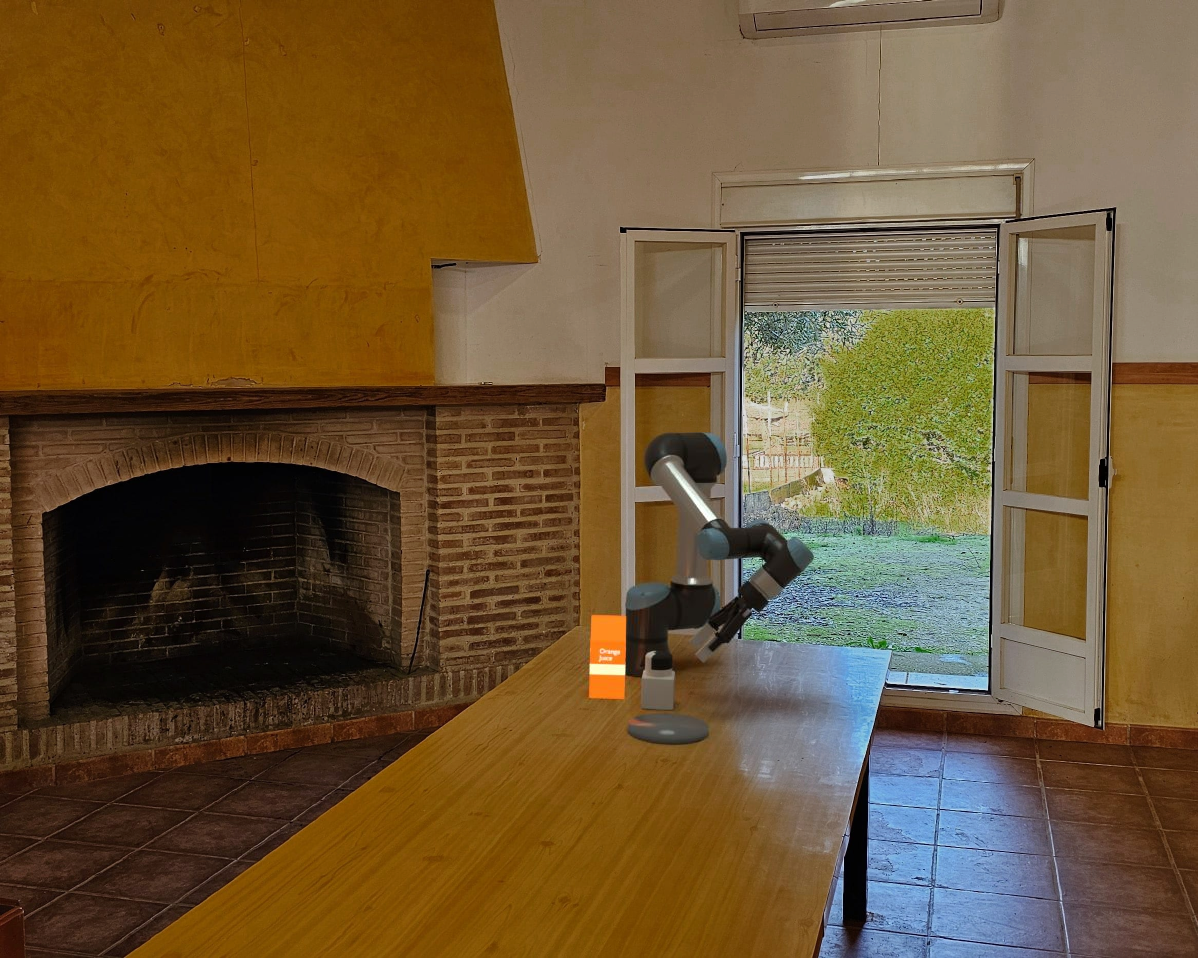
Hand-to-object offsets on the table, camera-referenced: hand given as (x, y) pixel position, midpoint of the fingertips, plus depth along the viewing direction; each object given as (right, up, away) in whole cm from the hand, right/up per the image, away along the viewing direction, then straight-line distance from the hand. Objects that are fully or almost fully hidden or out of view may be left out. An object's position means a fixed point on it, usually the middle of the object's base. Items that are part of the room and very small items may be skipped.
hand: (695, 651), depth 269 cm
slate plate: (-8, -15, -19) cm, 25 cm away
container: (-9, -13, +2) cm, 16 cm away
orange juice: (-21, -12, +11) cm, 27 cm away
